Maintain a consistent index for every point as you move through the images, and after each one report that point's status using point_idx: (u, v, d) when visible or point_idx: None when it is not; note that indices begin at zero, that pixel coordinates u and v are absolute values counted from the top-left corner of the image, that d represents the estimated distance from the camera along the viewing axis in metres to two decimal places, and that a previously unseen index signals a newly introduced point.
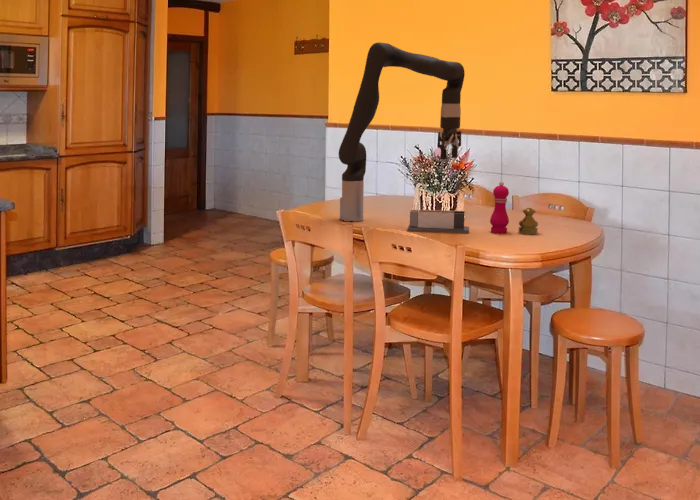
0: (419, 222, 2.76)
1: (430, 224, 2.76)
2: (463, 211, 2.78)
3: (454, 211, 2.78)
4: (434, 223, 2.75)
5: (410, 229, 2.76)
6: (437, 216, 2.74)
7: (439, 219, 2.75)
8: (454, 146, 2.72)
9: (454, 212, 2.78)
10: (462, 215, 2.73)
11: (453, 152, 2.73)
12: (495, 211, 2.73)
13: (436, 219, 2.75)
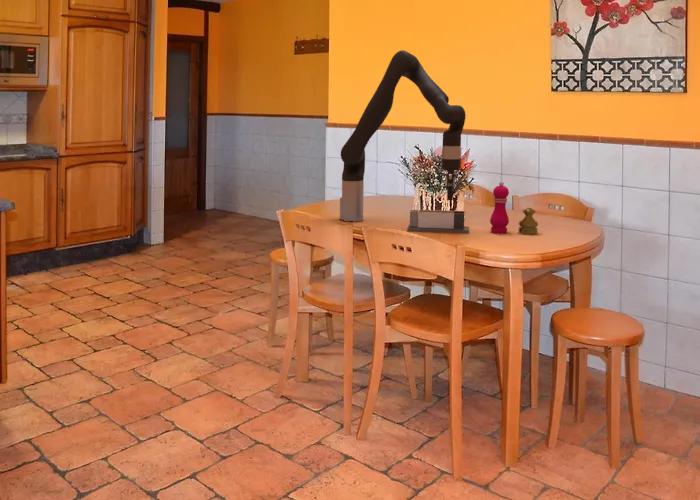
0: (419, 222, 2.76)
1: (430, 224, 2.76)
2: (463, 211, 2.78)
3: (454, 211, 2.78)
4: (434, 223, 2.75)
5: (410, 229, 2.76)
6: (437, 216, 2.74)
7: (439, 219, 2.75)
8: None
9: (454, 212, 2.78)
10: (462, 215, 2.73)
11: None
12: (495, 211, 2.73)
13: (436, 219, 2.75)
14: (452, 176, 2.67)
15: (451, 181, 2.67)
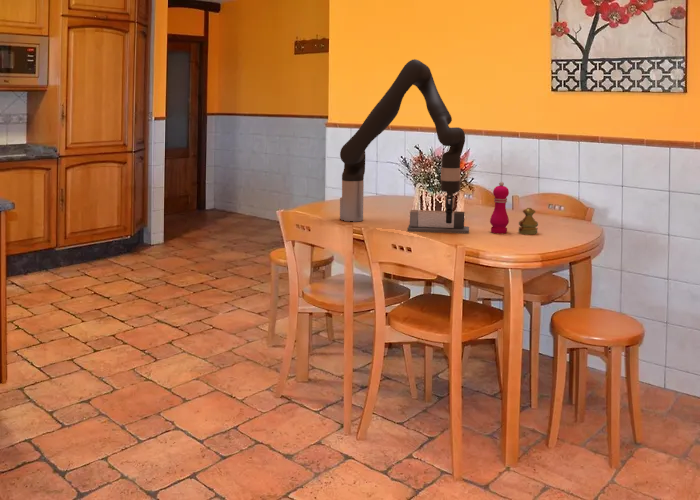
0: (419, 221, 2.77)
1: (430, 223, 2.77)
2: (463, 212, 2.77)
3: None
4: (434, 222, 2.76)
5: (410, 229, 2.76)
6: (437, 215, 2.76)
7: (439, 218, 2.76)
8: None
9: None
10: (462, 214, 2.74)
11: None
12: (495, 211, 2.73)
13: (436, 218, 2.76)
14: (451, 201, 2.69)
15: (450, 206, 2.70)
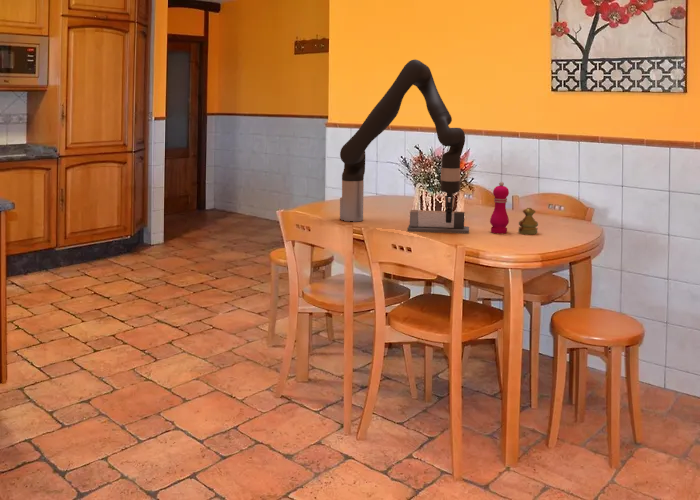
0: (419, 221, 2.78)
1: (430, 223, 2.77)
2: (463, 212, 2.76)
3: None
4: (434, 222, 2.77)
5: (410, 229, 2.76)
6: (437, 215, 2.76)
7: (439, 218, 2.76)
8: None
9: None
10: (462, 214, 2.74)
11: None
12: (495, 211, 2.73)
13: (436, 218, 2.76)
14: (451, 199, 2.69)
15: (450, 204, 2.69)
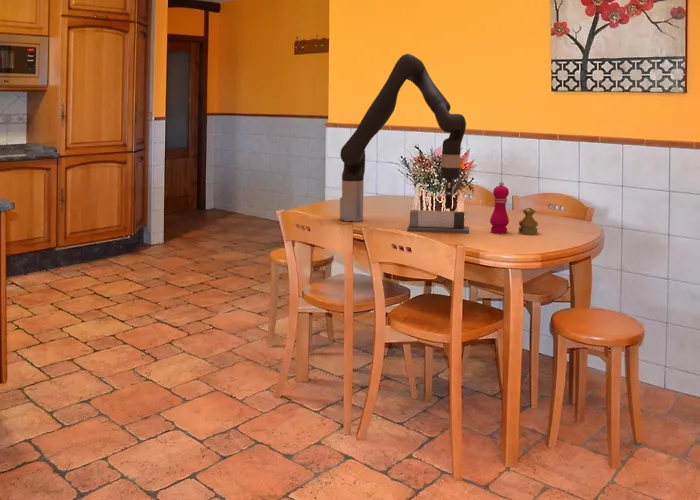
0: (419, 221, 2.78)
1: (430, 223, 2.77)
2: (463, 212, 2.76)
3: None
4: (434, 222, 2.77)
5: (410, 229, 2.76)
6: (437, 215, 2.76)
7: (439, 218, 2.76)
8: None
9: None
10: (462, 214, 2.74)
11: None
12: (495, 211, 2.73)
13: (436, 218, 2.76)
14: (451, 185, 2.67)
15: (450, 190, 2.68)
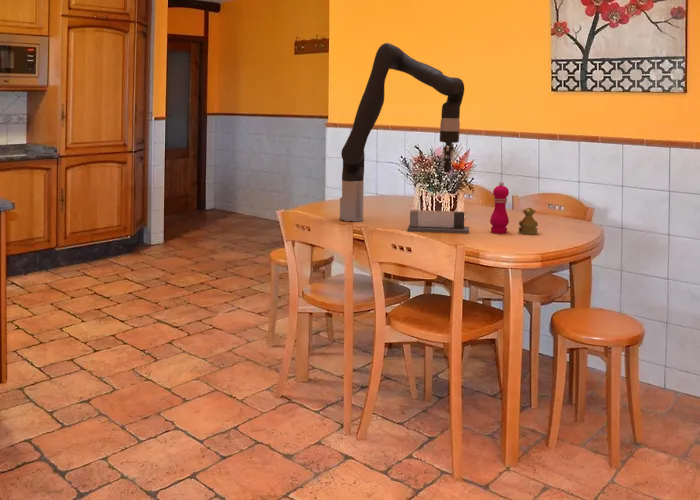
0: (419, 221, 2.78)
1: (430, 223, 2.77)
2: (463, 212, 2.76)
3: None
4: (434, 222, 2.77)
5: (410, 229, 2.76)
6: (437, 215, 2.76)
7: (439, 218, 2.76)
8: None
9: None
10: (462, 214, 2.74)
11: None
12: (495, 211, 2.73)
13: (436, 218, 2.76)
14: (449, 148, 2.68)
15: (448, 153, 2.68)
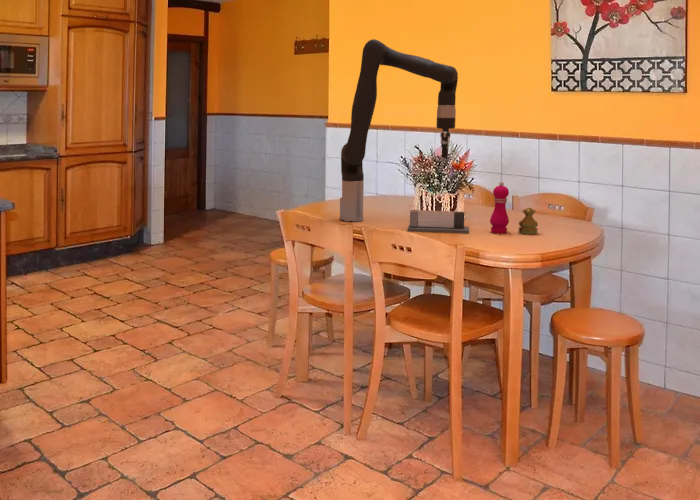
0: (419, 221, 2.78)
1: (430, 223, 2.77)
2: (463, 212, 2.76)
3: None
4: (434, 222, 2.77)
5: (410, 229, 2.76)
6: (437, 215, 2.76)
7: (439, 218, 2.76)
8: None
9: None
10: (462, 214, 2.74)
11: None
12: (495, 211, 2.73)
13: (436, 218, 2.76)
14: (446, 134, 2.77)
15: (445, 139, 2.78)
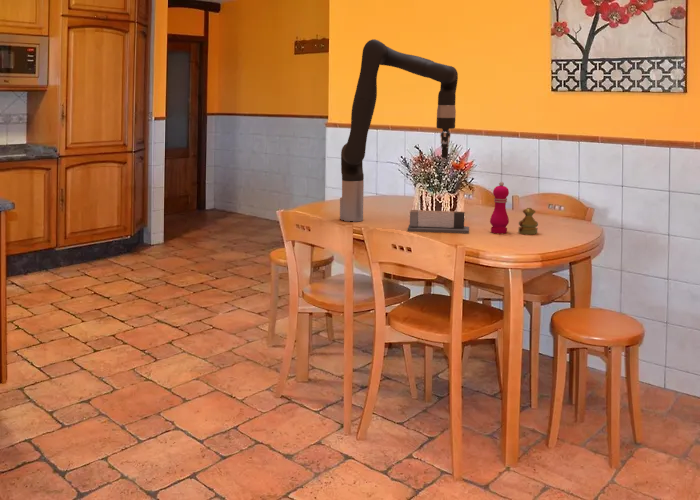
0: (419, 221, 2.78)
1: (430, 223, 2.77)
2: (463, 212, 2.76)
3: None
4: (434, 222, 2.77)
5: (410, 229, 2.76)
6: (437, 215, 2.76)
7: (439, 218, 2.76)
8: None
9: None
10: (462, 214, 2.74)
11: None
12: (495, 211, 2.73)
13: (436, 218, 2.76)
14: (446, 134, 2.77)
15: (445, 138, 2.78)
